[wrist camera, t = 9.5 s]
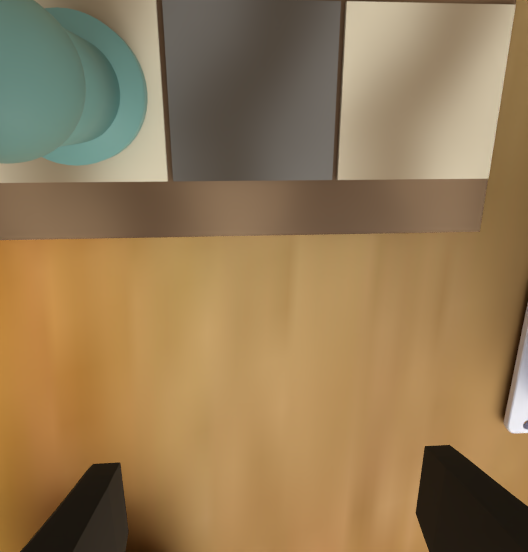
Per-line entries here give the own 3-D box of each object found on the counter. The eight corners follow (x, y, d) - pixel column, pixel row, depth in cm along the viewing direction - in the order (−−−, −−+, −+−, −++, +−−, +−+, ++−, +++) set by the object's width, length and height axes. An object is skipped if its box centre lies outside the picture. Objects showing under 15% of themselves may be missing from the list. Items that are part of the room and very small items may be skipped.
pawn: (141, 15, 15) (63, -81, 8) (152, 162, 16) (95, 196, 9) (-8, 13, 15) (-233, -89, 7) (17, 163, 16) (-150, 199, 9)
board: (512, -58, 16) (530, -70, 15) (469, 227, 19) (482, 232, 18) (-241, -82, 14) (-275, -96, 13) (-148, 237, 17) (-169, 244, 16)
